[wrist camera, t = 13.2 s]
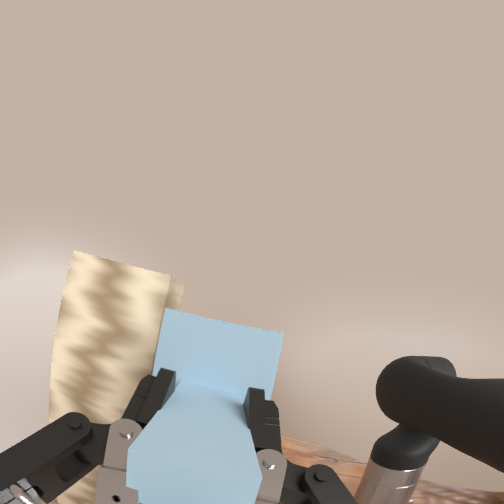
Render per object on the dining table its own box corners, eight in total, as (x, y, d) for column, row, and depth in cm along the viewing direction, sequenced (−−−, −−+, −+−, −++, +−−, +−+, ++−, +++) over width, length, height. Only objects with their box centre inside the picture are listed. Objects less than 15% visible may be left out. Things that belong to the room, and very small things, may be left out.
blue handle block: (252, 397, 21) (266, 329, 22) (306, 523, 5) (360, 343, 6) (169, 380, 20) (183, 312, 22) (72, 475, 4) (89, 285, 6)
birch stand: (218, 545, 20) (274, 306, 30) (218, 577, 13) (290, 301, 22) (83, 506, 19) (104, 266, 29) (64, 530, 12) (74, 250, 22)
